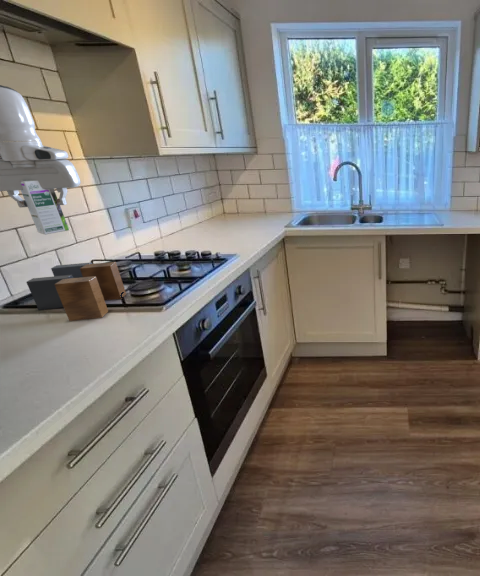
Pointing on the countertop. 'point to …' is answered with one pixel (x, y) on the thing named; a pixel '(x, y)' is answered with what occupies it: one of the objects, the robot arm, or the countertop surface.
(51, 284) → the grey boxes
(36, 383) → the countertop surface
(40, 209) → the syrup box
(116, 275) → the wooden blocks
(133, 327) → the countertop surface
